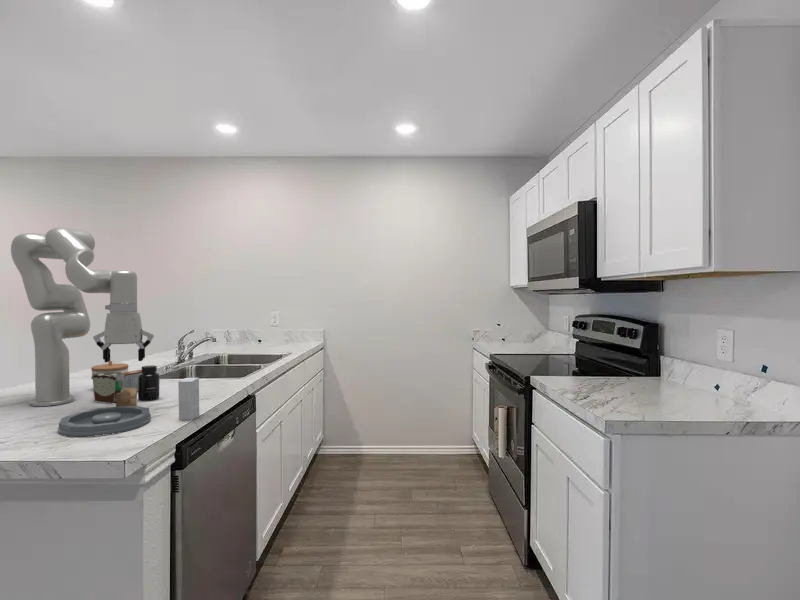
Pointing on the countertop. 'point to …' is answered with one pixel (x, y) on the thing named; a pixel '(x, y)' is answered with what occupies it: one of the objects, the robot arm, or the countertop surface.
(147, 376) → the supplement bottle
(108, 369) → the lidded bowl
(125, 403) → the walnut bead
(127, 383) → the tin
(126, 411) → the slate tray
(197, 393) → the skincare box
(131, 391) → the oak bead
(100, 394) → the food container
